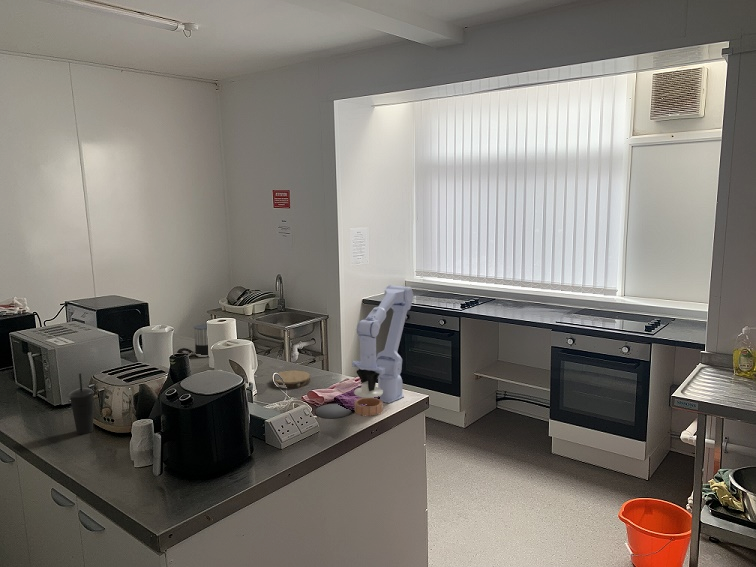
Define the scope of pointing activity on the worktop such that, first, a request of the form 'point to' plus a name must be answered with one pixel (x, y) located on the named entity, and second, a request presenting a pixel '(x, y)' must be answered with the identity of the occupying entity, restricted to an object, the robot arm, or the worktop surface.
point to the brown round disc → (293, 379)
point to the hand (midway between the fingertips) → (368, 389)
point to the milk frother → (199, 340)
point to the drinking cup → (82, 408)
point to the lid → (367, 391)
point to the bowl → (368, 406)
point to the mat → (332, 411)
